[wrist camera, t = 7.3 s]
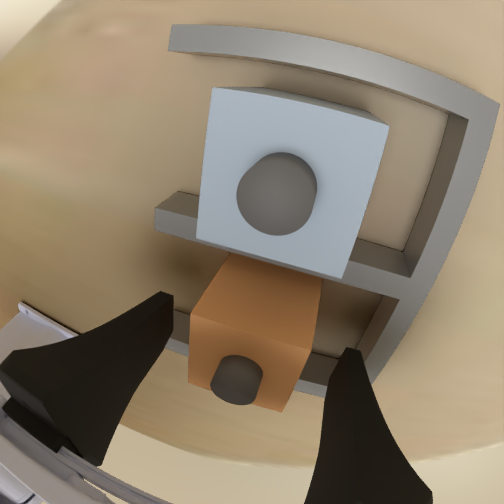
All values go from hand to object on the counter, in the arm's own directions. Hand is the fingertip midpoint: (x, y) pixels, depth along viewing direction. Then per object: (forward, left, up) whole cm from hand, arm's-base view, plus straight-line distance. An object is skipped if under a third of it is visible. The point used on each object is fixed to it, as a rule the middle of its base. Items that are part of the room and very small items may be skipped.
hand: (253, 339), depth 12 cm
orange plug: (0, 0, -3) cm, 3 cm away
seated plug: (0, +7, -3) cm, 8 cm away
